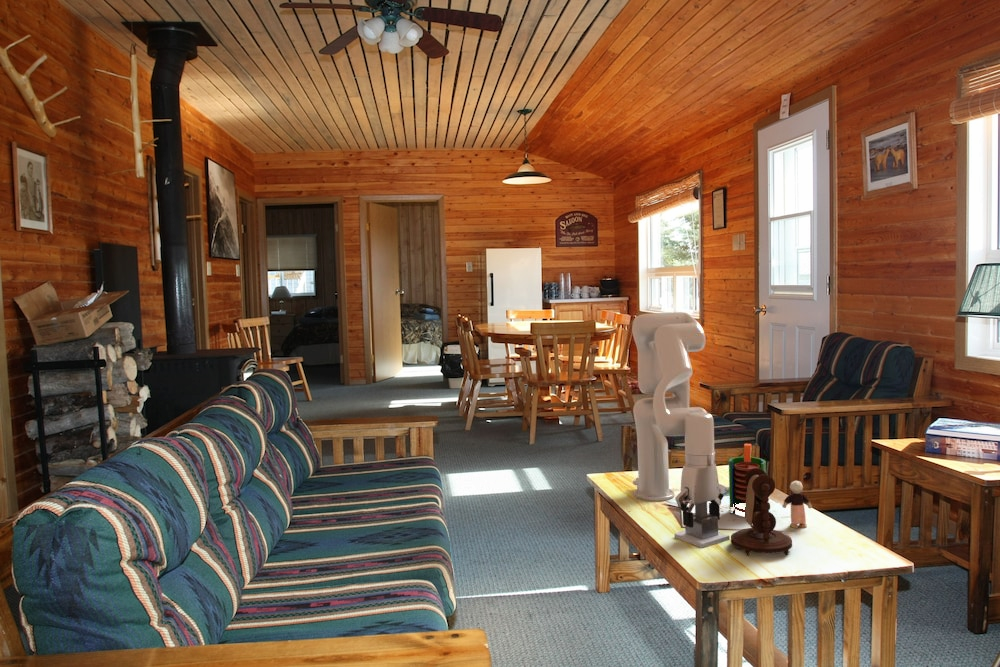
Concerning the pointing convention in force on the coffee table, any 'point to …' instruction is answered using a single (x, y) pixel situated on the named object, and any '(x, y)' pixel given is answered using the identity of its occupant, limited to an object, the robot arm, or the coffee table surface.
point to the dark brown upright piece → (760, 518)
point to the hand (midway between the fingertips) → (701, 522)
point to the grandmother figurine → (797, 505)
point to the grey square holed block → (703, 527)
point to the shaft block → (700, 513)
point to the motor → (742, 475)
